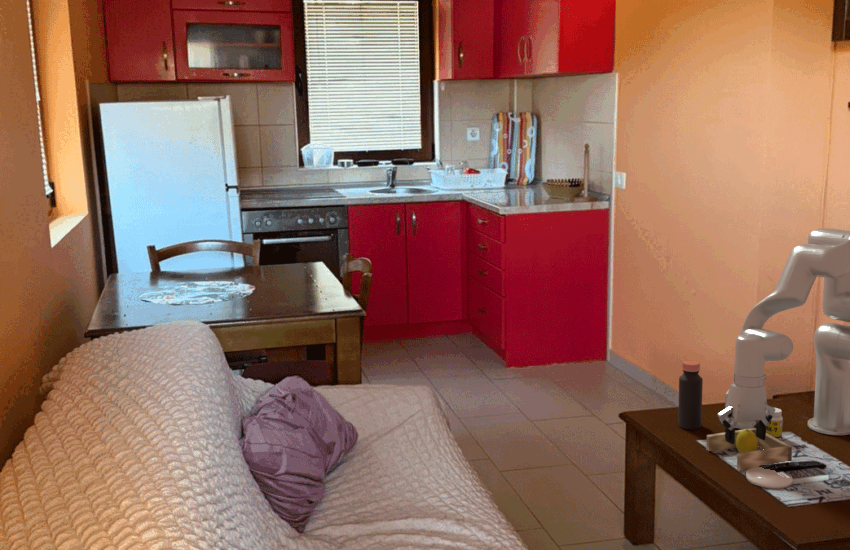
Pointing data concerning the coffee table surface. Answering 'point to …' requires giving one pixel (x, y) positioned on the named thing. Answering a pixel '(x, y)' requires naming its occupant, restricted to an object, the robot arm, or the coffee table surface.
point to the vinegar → (690, 396)
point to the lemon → (746, 441)
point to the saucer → (767, 478)
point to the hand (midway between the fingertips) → (745, 440)
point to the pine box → (745, 461)
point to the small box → (741, 425)
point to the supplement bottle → (775, 424)
